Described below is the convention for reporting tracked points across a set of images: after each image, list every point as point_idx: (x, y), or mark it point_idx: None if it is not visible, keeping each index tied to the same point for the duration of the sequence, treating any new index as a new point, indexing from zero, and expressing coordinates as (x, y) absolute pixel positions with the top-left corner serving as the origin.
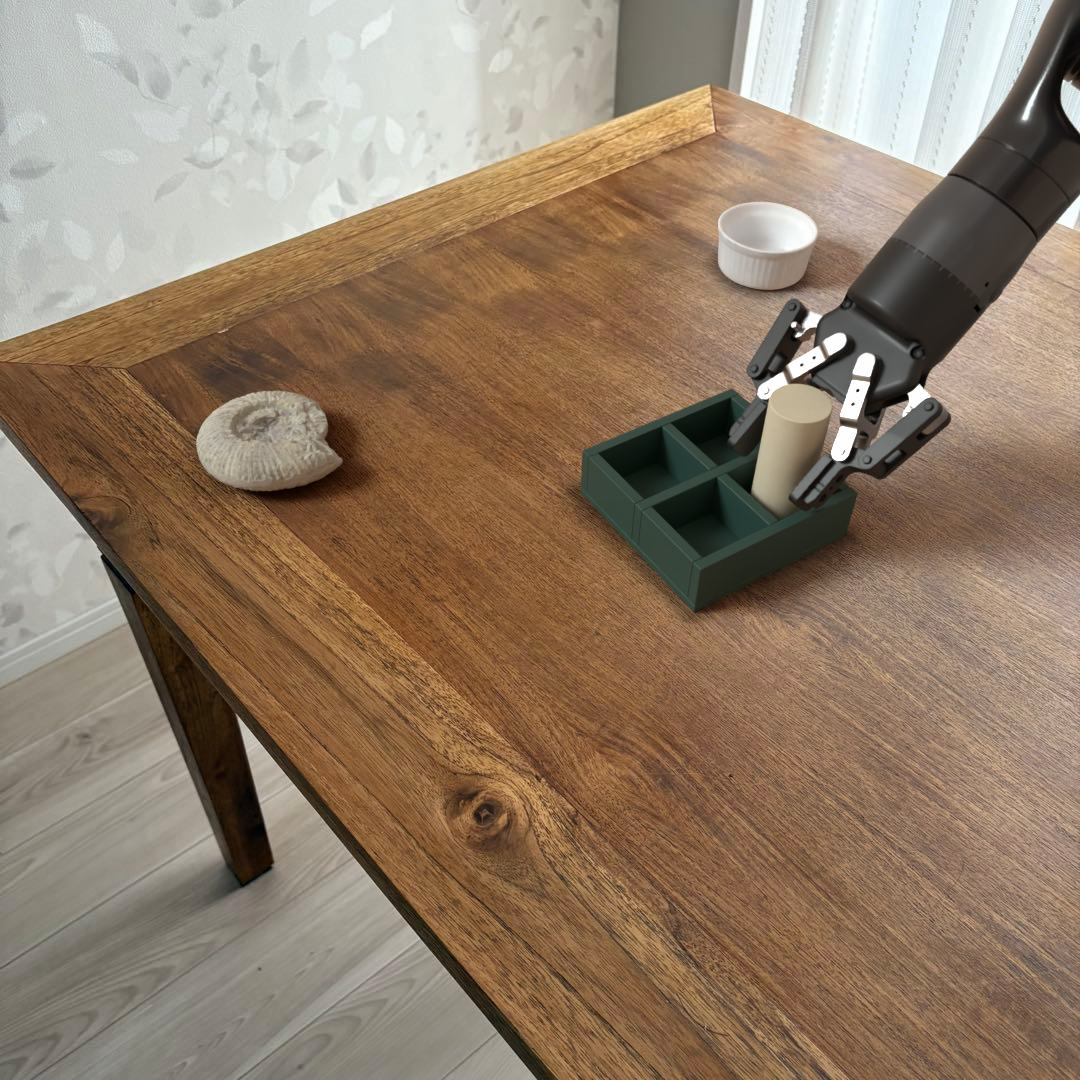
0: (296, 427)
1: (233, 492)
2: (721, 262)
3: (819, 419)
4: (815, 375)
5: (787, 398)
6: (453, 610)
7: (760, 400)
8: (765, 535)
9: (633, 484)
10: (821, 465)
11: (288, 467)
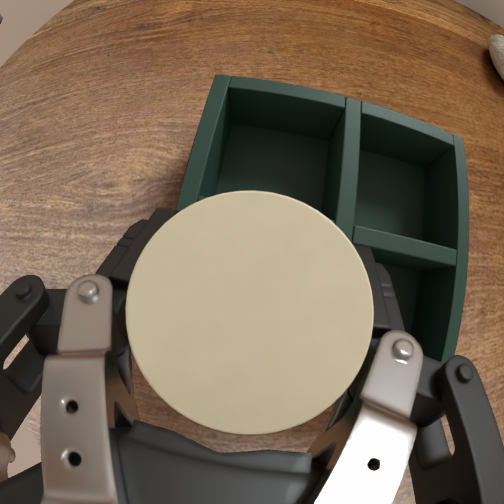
0: None
1: None
2: None
3: (132, 284)
4: (307, 472)
5: (306, 300)
6: (359, 21)
7: (391, 328)
8: (189, 173)
9: (410, 204)
10: (130, 261)
11: (497, 43)
